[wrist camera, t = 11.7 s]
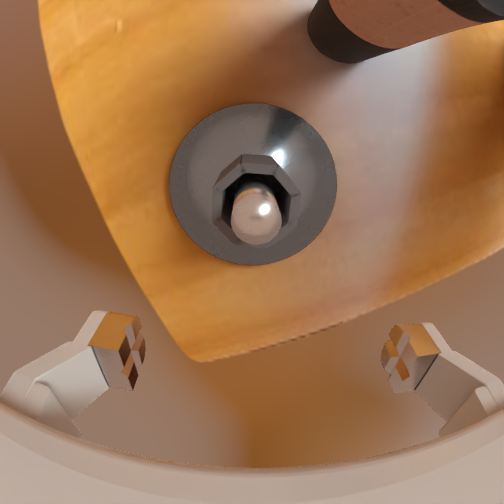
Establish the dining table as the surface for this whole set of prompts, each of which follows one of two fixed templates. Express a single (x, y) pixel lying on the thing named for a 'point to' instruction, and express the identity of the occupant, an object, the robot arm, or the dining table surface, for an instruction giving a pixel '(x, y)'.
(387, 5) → the travel mug
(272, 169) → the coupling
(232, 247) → the grey metal round base
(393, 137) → the dining table surface
